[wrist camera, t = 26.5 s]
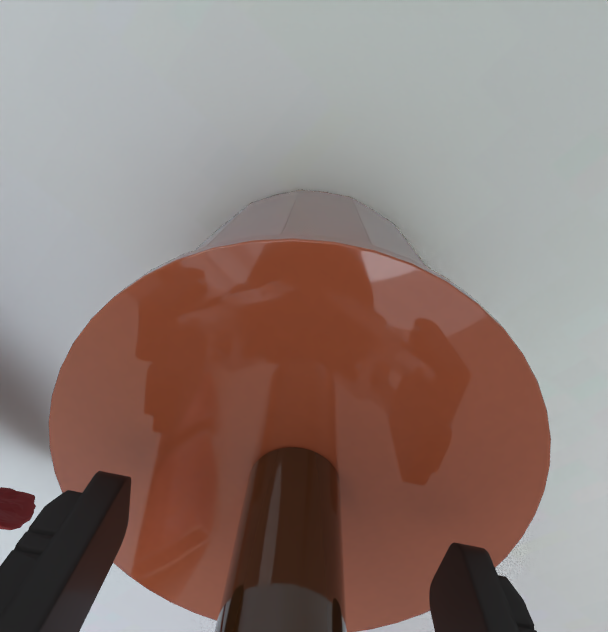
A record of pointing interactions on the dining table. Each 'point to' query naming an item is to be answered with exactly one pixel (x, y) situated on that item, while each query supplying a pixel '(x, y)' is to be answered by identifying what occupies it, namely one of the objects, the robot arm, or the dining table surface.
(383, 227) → the pot
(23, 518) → the decorative bird sculpture
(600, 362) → the dining table surface
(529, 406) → the lid
